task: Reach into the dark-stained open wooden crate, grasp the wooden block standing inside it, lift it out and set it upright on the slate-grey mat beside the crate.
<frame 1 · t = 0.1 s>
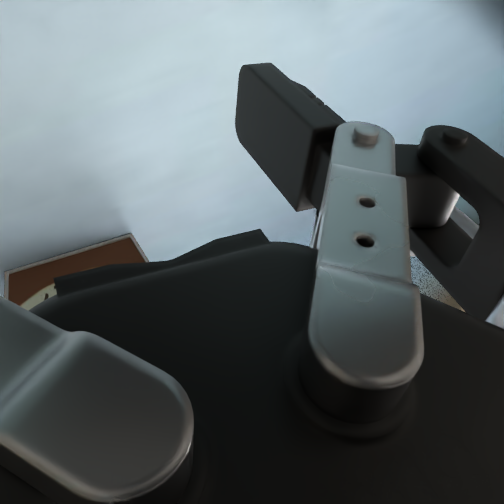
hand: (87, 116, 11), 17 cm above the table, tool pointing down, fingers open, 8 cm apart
food container: (80, 276, 38), on the table
newton's cradle: (463, 219, 59), on the table
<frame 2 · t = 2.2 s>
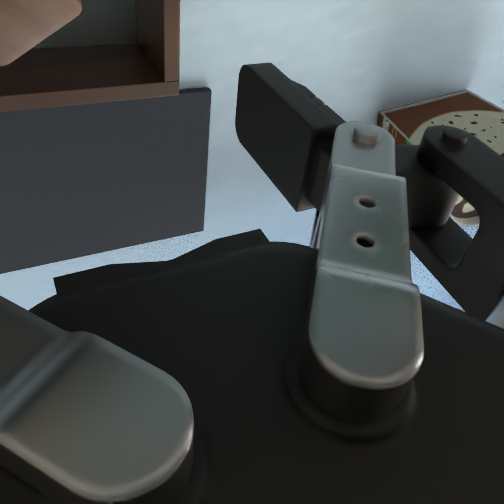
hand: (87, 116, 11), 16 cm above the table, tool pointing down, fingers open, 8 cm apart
mat: (45, 190, 31), on the table
food container: (413, 131, 42), on the table
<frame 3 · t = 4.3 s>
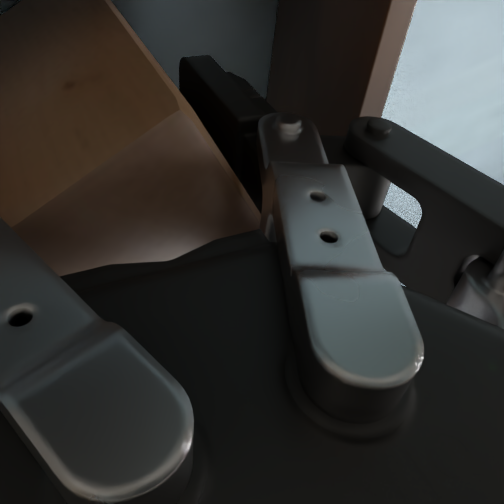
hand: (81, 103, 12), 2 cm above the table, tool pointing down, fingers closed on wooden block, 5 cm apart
crate: (66, 66, 13), on the table
wooden block: (65, 63, 13), resting in crate, touching gripper
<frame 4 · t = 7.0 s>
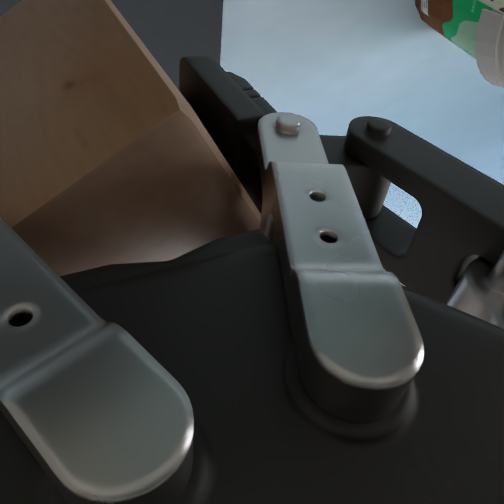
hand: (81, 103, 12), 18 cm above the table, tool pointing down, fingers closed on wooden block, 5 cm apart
wooden block: (65, 63, 13), point 15 cm above the table, touching gripper
mat: (33, 27, 26), on the table
food container: (453, 2, 37), on the table
when the fingers open (3 cm above the table, at t = 10.1 s): wooden block stays where it is, resting on mat.
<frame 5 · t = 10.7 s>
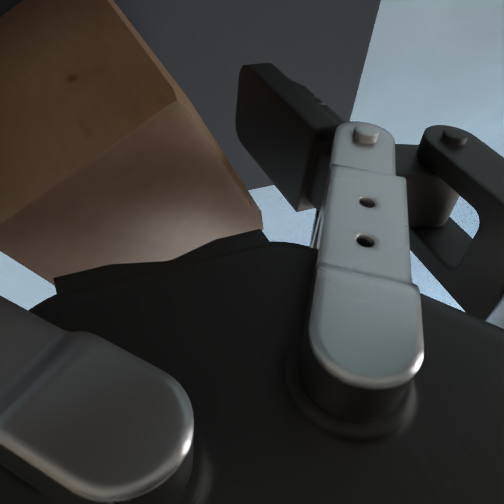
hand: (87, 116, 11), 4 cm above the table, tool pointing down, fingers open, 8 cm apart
wooden block: (67, 60, 14), resting on mat
mat: (60, 55, 14), on the table
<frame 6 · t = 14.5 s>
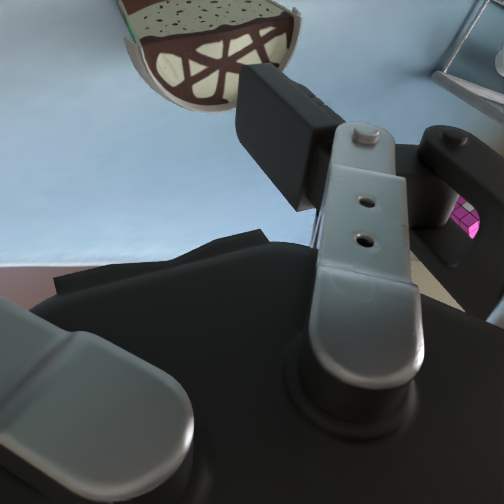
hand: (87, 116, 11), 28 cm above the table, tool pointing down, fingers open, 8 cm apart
food container: (179, 26, 39), on the table
puzzle toy: (457, 204, 77), on the table
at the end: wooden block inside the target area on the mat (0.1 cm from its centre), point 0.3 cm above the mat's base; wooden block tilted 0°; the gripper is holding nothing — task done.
